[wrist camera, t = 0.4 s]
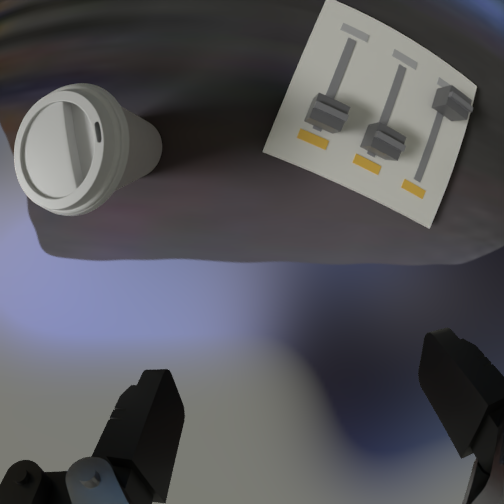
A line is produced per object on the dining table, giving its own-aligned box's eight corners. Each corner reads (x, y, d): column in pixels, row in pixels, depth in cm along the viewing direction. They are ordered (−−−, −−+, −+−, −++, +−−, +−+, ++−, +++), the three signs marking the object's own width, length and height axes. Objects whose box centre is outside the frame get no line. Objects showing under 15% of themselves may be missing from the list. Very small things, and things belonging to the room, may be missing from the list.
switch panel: (323, 4, 25) (327, -4, 23) (467, 88, 27) (477, 86, 25) (262, 152, 31) (262, 151, 29) (421, 224, 33) (429, 228, 31)
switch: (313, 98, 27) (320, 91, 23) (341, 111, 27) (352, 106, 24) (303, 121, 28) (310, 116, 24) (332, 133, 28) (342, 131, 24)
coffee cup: (168, 199, 32) (106, 233, 18) (91, 185, 32) (3, 211, 17) (184, 110, 29) (130, 78, 15) (104, 103, 29) (18, 81, 15)
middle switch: (368, 124, 27) (382, 121, 24) (393, 138, 28) (409, 136, 24) (359, 146, 28) (372, 146, 25) (385, 159, 28) (400, 161, 25)
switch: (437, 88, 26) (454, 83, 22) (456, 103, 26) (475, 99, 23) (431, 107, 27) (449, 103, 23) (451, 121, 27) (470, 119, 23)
